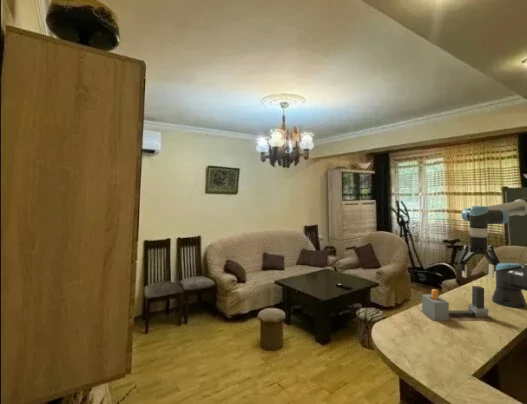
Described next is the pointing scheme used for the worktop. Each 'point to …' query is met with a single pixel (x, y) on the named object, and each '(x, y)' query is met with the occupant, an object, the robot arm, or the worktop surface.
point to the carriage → (478, 302)
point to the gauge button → (434, 294)
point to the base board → (465, 318)
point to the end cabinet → (435, 307)
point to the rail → (461, 313)
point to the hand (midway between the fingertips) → (477, 277)
